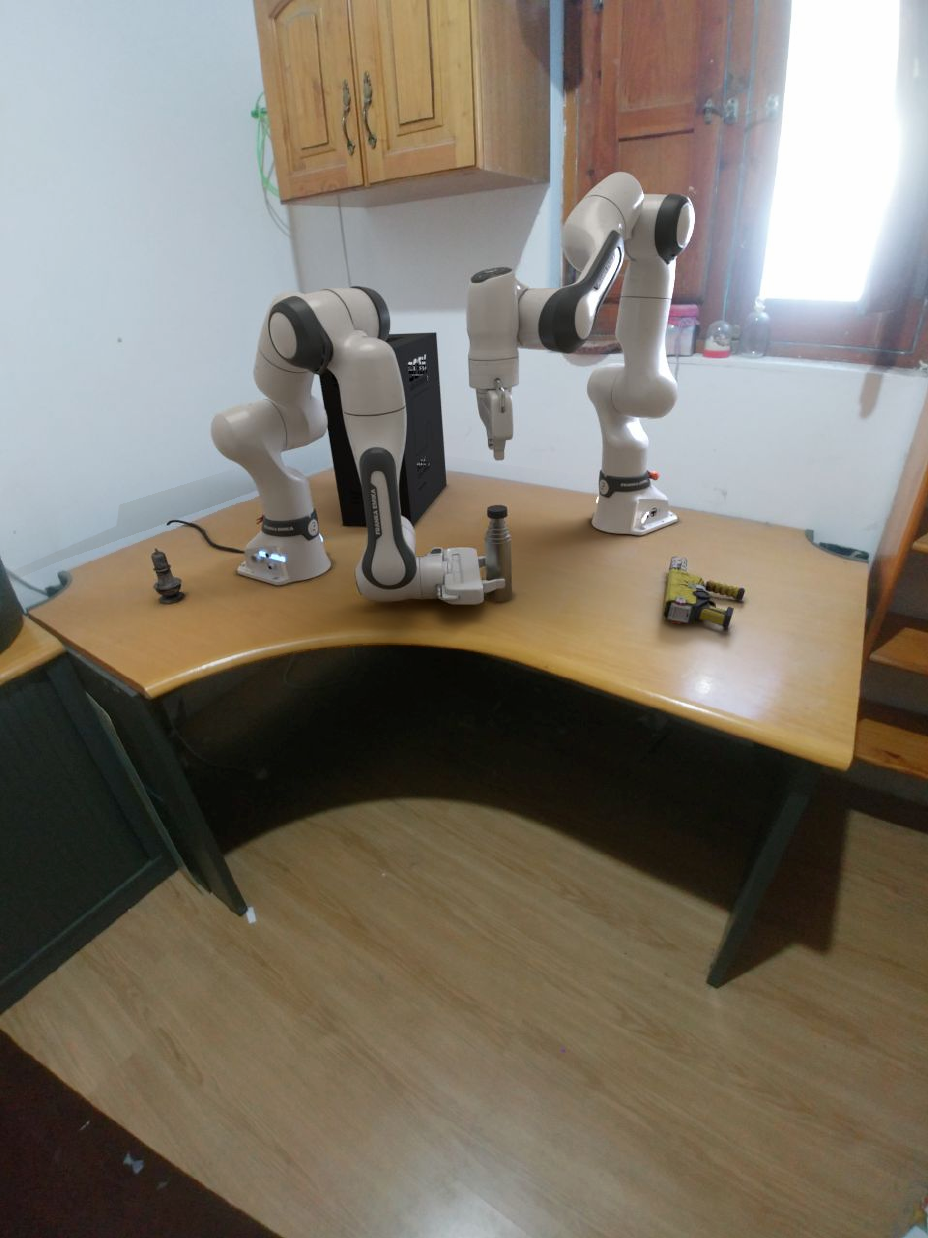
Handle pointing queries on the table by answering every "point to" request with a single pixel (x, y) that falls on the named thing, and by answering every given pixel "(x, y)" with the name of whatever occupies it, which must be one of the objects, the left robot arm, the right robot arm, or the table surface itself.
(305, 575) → the left robot arm
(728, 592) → the toy gun
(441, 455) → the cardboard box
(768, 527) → the table surface
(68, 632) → the table surface
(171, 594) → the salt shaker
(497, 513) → the cap
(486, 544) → the bottle
